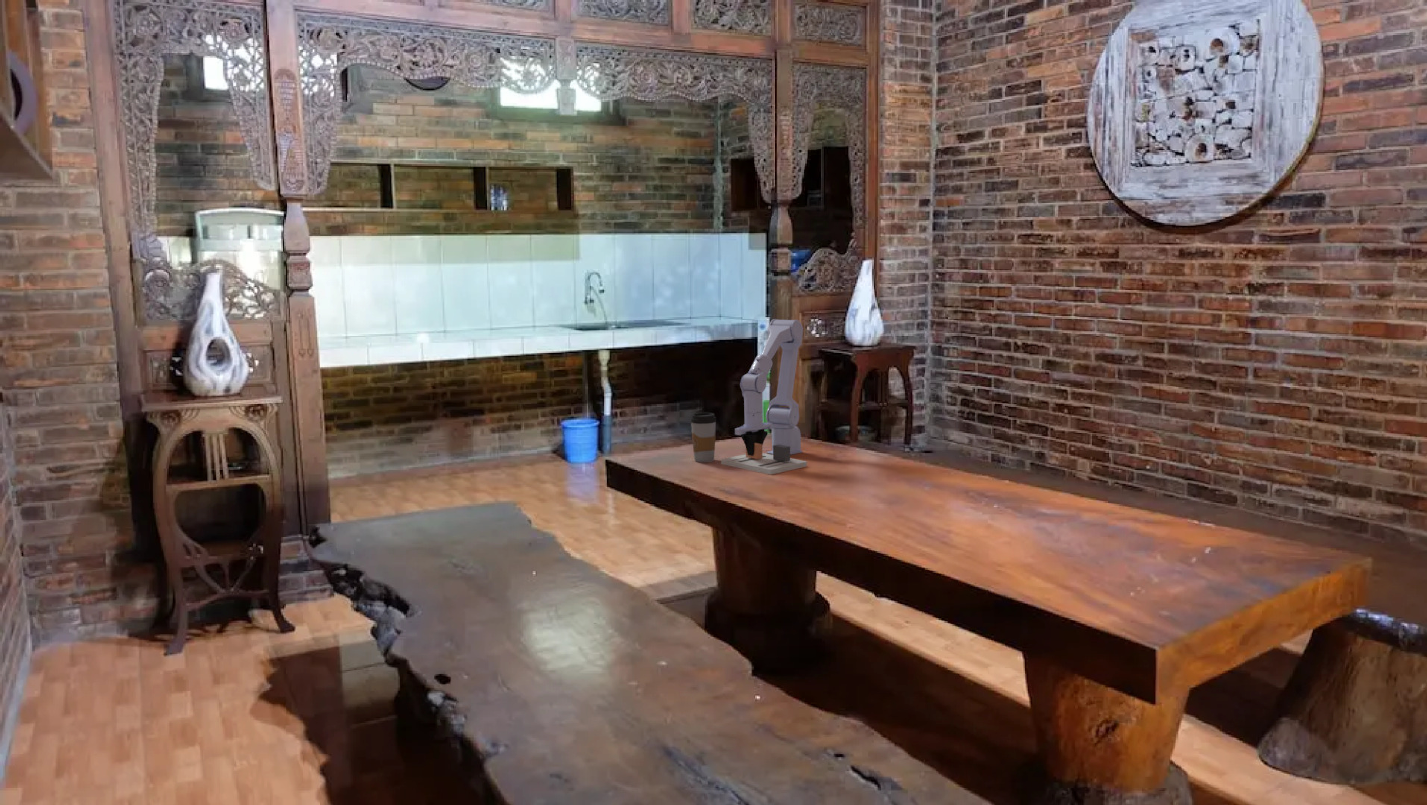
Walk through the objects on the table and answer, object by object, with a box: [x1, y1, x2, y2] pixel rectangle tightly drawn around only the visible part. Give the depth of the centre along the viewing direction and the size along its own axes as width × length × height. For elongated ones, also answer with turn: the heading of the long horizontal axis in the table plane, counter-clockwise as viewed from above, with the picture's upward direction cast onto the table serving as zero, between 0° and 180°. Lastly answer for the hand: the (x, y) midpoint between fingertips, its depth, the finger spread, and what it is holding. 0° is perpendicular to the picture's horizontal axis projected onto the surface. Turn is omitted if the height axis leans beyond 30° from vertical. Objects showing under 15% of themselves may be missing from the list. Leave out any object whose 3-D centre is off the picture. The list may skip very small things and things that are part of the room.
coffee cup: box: [690, 412, 717, 463], centre depth 317 cm, size 8×8×15 cm
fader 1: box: [745, 443, 763, 459], centre depth 312 cm, size 2×5×4 cm, turn 42°
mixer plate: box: [720, 452, 808, 475], centre depth 309 cm, size 16×22×2 cm
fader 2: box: [772, 444, 791, 462], centre depth 307 cm, size 2×5×4 cm, turn 42°
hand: (754, 454), depth 312 cm, fingers closed on fader 1, 2 cm apart
